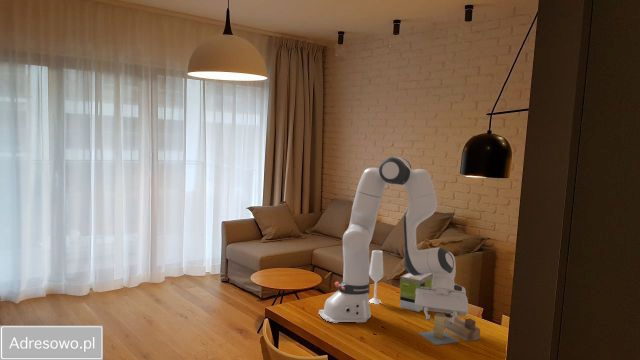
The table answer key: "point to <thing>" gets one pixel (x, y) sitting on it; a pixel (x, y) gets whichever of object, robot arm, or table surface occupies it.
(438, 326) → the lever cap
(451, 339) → the rubber mat
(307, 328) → the table surface
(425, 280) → the tea box
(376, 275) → the champagne flute
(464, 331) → the plane body
